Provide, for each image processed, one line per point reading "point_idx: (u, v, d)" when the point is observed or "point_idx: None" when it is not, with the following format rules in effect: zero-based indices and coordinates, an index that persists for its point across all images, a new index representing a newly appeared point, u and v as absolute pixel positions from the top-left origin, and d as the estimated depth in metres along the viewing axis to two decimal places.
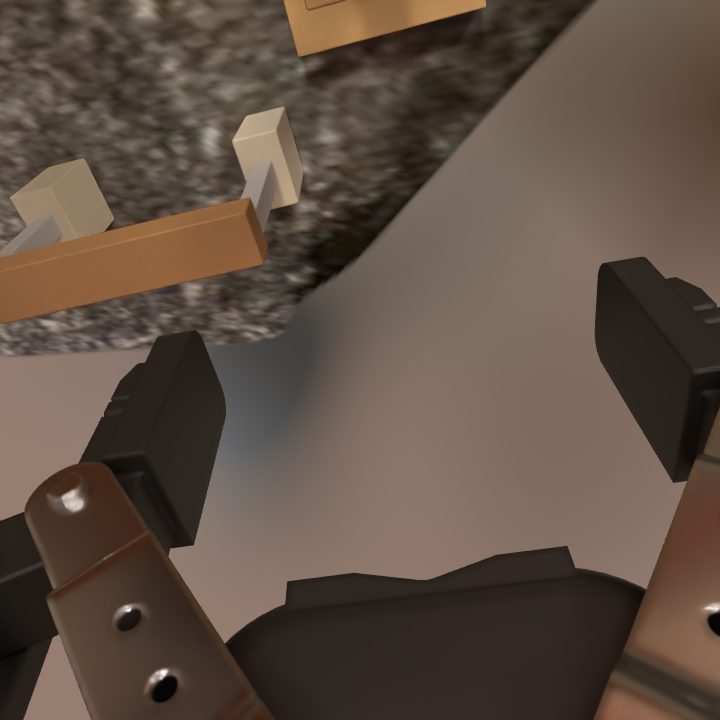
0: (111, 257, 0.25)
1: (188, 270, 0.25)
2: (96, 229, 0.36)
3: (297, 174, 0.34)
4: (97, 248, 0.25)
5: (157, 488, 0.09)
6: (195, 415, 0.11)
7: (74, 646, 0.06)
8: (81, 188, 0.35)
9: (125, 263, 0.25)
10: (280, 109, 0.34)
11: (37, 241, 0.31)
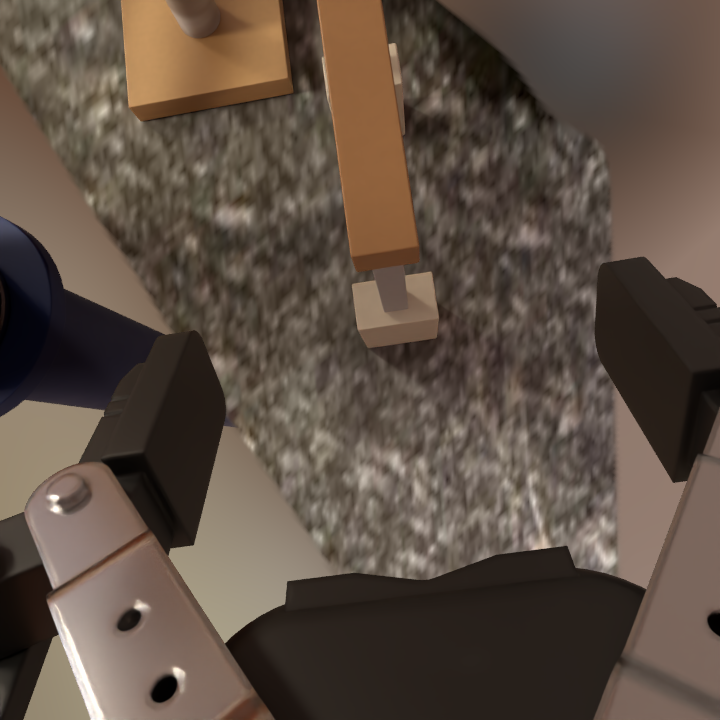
0: (339, 58, 0.22)
1: None
2: None
3: None
4: (327, 72, 0.22)
5: (157, 488, 0.09)
6: (195, 415, 0.11)
7: (74, 646, 0.06)
8: None
9: (348, 47, 0.22)
10: None
11: None
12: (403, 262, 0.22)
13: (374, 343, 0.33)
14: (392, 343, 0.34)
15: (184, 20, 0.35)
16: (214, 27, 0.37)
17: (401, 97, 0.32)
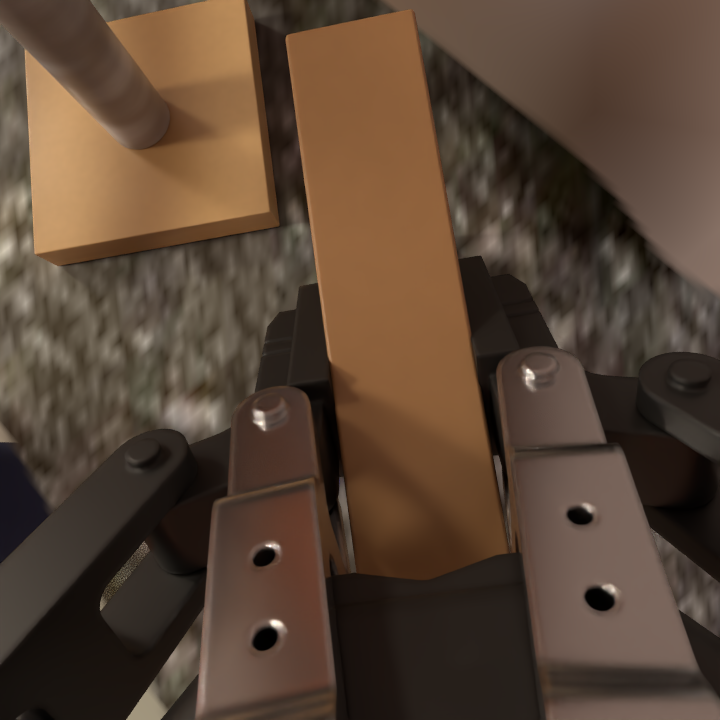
0: (358, 346, 0.10)
1: (411, 173, 0.10)
2: None
3: None
4: (333, 376, 0.10)
5: (332, 416, 0.10)
6: None
7: (215, 558, 0.06)
8: None
9: (379, 320, 0.10)
10: None
11: None
12: None
13: None
14: None
15: (112, 129, 0.23)
16: (160, 134, 0.25)
17: None
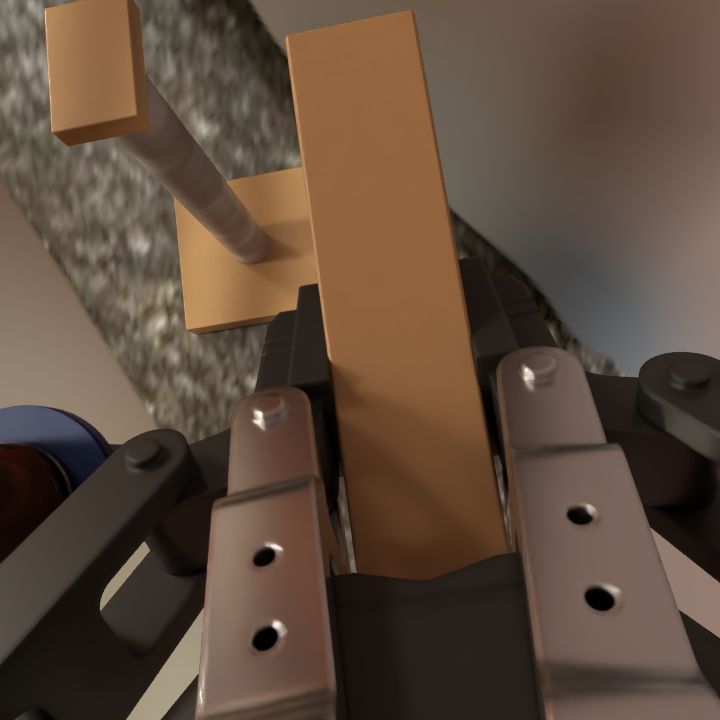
0: (358, 347, 0.10)
1: (411, 174, 0.10)
2: None
3: None
4: (333, 376, 0.10)
5: (332, 416, 0.10)
6: None
7: (215, 559, 0.06)
8: None
9: (379, 320, 0.10)
10: None
11: None
12: None
13: None
14: None
15: (238, 256, 0.39)
16: (264, 255, 0.40)
17: None
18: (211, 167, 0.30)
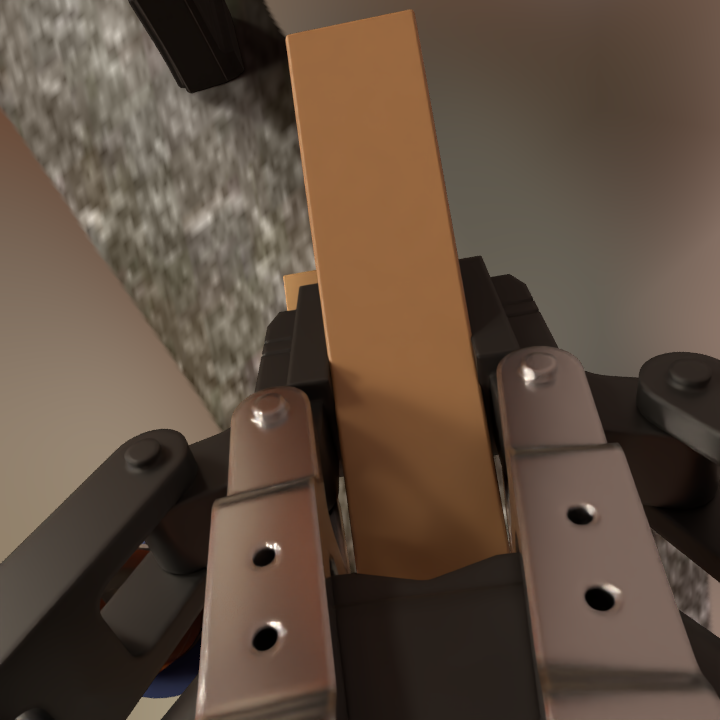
0: (358, 347, 0.10)
1: (411, 173, 0.10)
2: None
3: None
4: (333, 376, 0.10)
5: (332, 416, 0.10)
6: None
7: (215, 559, 0.06)
8: None
9: (379, 320, 0.10)
10: None
11: None
12: None
13: None
14: None
15: None
16: None
17: None
18: None
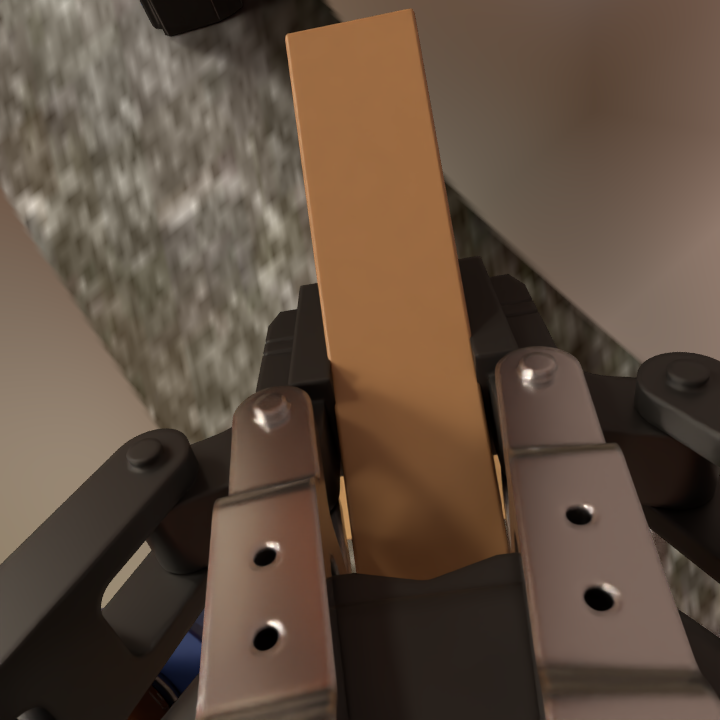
0: (358, 346, 0.10)
1: (411, 173, 0.10)
2: None
3: None
4: (333, 376, 0.10)
5: (333, 415, 0.10)
6: None
7: (215, 558, 0.06)
8: None
9: (379, 319, 0.10)
10: None
11: None
12: None
13: None
14: None
15: None
16: None
17: None
18: None
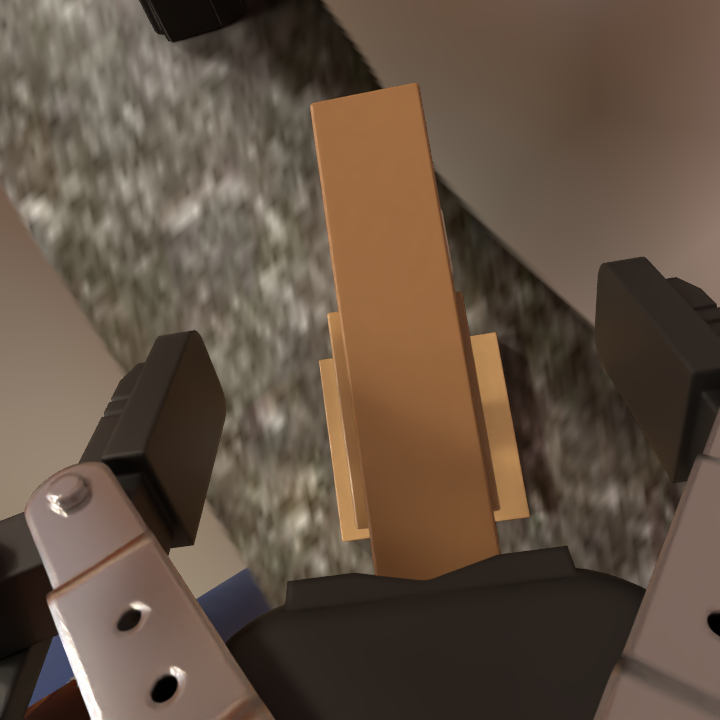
0: (373, 368, 0.12)
1: (417, 222, 0.12)
2: None
3: None
4: (352, 392, 0.12)
5: (157, 488, 0.09)
6: (195, 415, 0.11)
7: (74, 646, 0.06)
8: None
9: (390, 345, 0.12)
10: None
11: None
12: None
13: None
14: None
15: None
16: None
17: None
18: None
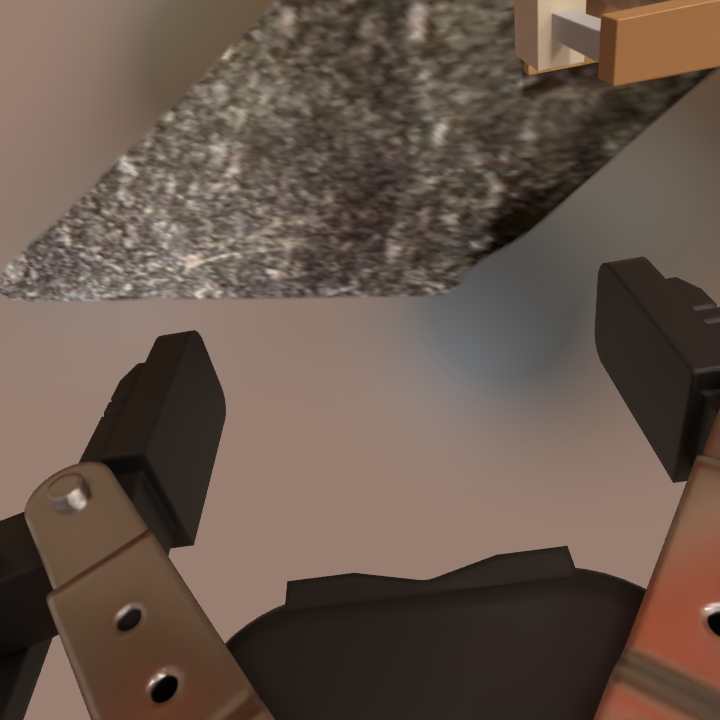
0: None
1: None
2: None
3: None
4: None
5: (157, 488, 0.09)
6: (195, 415, 0.11)
7: (74, 646, 0.06)
8: None
9: None
10: None
11: None
12: (601, 64, 0.25)
13: None
14: (515, 8, 0.34)
15: None
16: None
17: None
18: None
